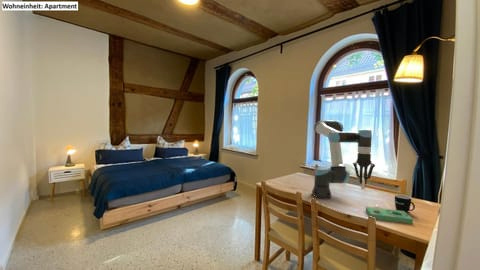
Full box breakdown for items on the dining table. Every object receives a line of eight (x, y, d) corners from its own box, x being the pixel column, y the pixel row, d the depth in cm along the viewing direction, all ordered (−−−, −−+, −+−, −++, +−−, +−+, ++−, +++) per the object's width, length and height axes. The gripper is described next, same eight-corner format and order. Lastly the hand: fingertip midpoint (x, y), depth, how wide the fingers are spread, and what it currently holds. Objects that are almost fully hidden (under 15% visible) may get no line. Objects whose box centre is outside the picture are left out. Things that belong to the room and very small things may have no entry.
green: (370, 218, 134) (371, 214, 133) (365, 211, 145) (365, 206, 145) (412, 223, 127) (412, 219, 127) (403, 215, 138) (404, 211, 138)
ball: (374, 212, 136) (374, 206, 136) (372, 209, 140) (372, 203, 140) (381, 212, 135) (382, 206, 135) (379, 210, 139) (379, 204, 139)
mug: (390, 209, 148) (391, 195, 148) (399, 207, 151) (400, 193, 151) (409, 216, 137) (410, 201, 136) (418, 214, 140) (419, 199, 139)
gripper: (354, 153, 136) (352, 189, 137) (377, 154, 132) (375, 191, 134) (351, 151, 143) (350, 186, 145) (373, 152, 139) (372, 187, 141)
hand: (362, 188), depth 139 cm, fingers closed
